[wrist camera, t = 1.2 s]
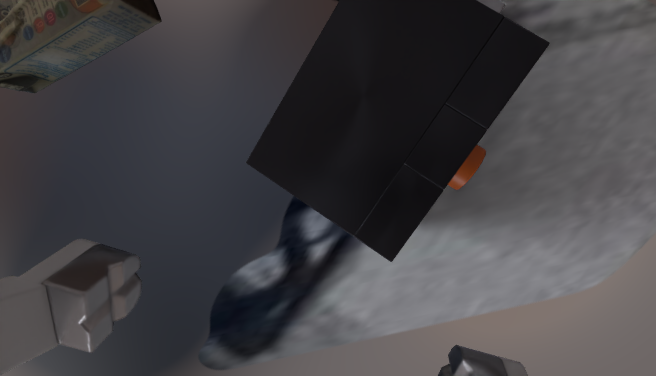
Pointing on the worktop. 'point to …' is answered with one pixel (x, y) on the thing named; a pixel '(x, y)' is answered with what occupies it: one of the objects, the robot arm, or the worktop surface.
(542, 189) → the worktop surface
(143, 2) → the beverage carton
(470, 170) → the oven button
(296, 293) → the worktop surface
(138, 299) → the robot arm
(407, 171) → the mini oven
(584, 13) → the worktop surface
